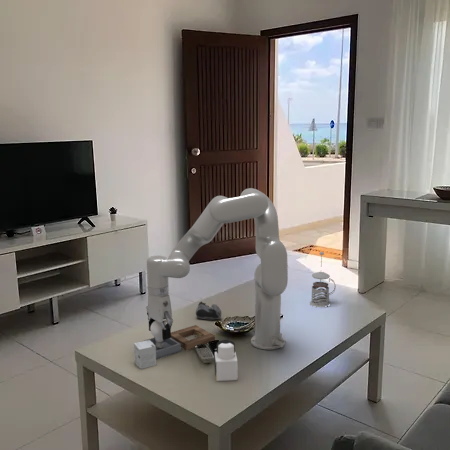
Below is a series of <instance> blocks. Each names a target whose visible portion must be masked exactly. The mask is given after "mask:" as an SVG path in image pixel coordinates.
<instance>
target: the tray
mask: <svg viewBox="0 0 450 450" xmlns="http://www.w3.org/2000/svg"><path fill="white" fill-rule="evenodd" d="M147 340H150V341H151V342H153V344H154V345H155V346H156V340H155V337H154V336H153V337H152V338H151V337H150V338H148V339H144V340H142V341H147ZM142 341H140V342H142ZM181 352H182V348H181V344H180V343H179V342H177V341H175V340H174V339H172V338H169V339H165V340H163V347H162V348H161V349H159V348H157V347H156V361H157V360H160V359H162V358H165V357H169V356H171V355H174V354H179V353H181Z"/></svg>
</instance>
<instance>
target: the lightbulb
mask: <svg viewBox="0 0 450 450" xmlns="http://www.w3.org/2000/svg"><path fill="white" fill-rule="evenodd" d="M164 324H165V325H166V324H167V322H166V323H164ZM162 329H163V327H162V324H161V323H159V322H158V321H154V322H153V323H152V324H151V327H150V330H151V331H150V333H151V335H152V336H153V338H154V337H155V340H156V347H157V348H159V349H161V348H162V347H163V338H162Z"/></svg>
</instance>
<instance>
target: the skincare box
mask: <svg viewBox="0 0 450 450" xmlns="http://www.w3.org/2000/svg"><path fill="white" fill-rule="evenodd" d="M146 340H147V339H146ZM133 347H134V348H133V349H134V350H133V351H134V352H133V353H134V363H135V364H136V365H137V366H138V368H139V369H140V370H142V369H146V368H150V367H154V366H157V360H156V346H155V345H154V344H153V342H151V341H150V340H147V341H144V340H142V342H141V341H138V342H134V343H133Z"/></svg>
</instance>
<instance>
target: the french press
mask: <svg viewBox="0 0 450 450" xmlns="http://www.w3.org/2000/svg"><path fill="white" fill-rule="evenodd" d="M319 255H320V258H321V261H320V263H321V264H320V266H322V262H323V261H322V259H323V257H322V256H323V255H325V254H324V252H323V251H320V252H319ZM311 277H312V278H314V279H316V280H320V281H315V282H313V283H312V286H311V301H309V303H310V304H309V305H310V306H311V305H312V306H311V307H313V306H316V307H315V308H317V307H325V306H328V305H329V304H331V303H330V296H331V295H332V294H334V293H335V291H336V284H335V281H334V280H333V279H332V278H331V276H330V274H328V273H326V272H324V271H323V272H322V271H317V272H314V273H312V274H311ZM326 279H327V280H328V283H327V282H324V281H322V280H326ZM330 281H332V283H333V284H334V287H333V288H334V289H333V290H332V292H330V291H329V290H330V287H329V283H330Z"/></svg>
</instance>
